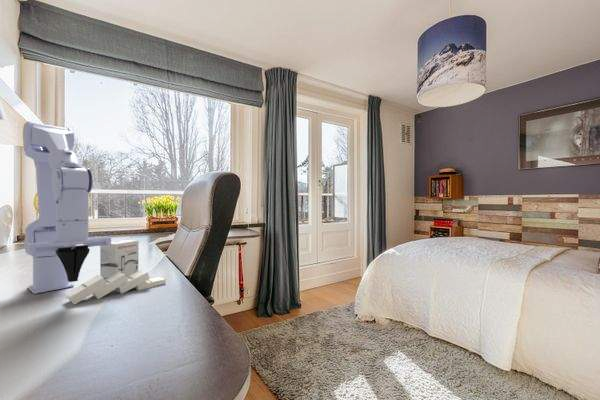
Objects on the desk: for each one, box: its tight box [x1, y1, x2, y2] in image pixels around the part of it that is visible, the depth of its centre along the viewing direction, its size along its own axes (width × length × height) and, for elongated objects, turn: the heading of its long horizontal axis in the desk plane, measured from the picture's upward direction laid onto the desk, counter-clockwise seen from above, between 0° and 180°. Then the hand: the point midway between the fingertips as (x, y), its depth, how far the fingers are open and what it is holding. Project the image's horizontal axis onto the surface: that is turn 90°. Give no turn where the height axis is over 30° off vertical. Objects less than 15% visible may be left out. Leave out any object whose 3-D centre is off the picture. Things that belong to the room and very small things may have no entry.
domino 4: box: [133, 276, 166, 291], centre depth 76 cm, size 4×2×7 cm
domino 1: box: [64, 274, 107, 305], centre depth 65 cm, size 4×2×7 cm
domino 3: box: [114, 270, 151, 294], centre depth 72 cm, size 4×2×7 cm
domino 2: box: [91, 272, 128, 300], centre depth 69 cm, size 4×2×7 cm
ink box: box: [99, 239, 139, 279], centre depth 78 cm, size 9×5×12 cm, turn 168°
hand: (72, 280), depth 63 cm, fingers closed
